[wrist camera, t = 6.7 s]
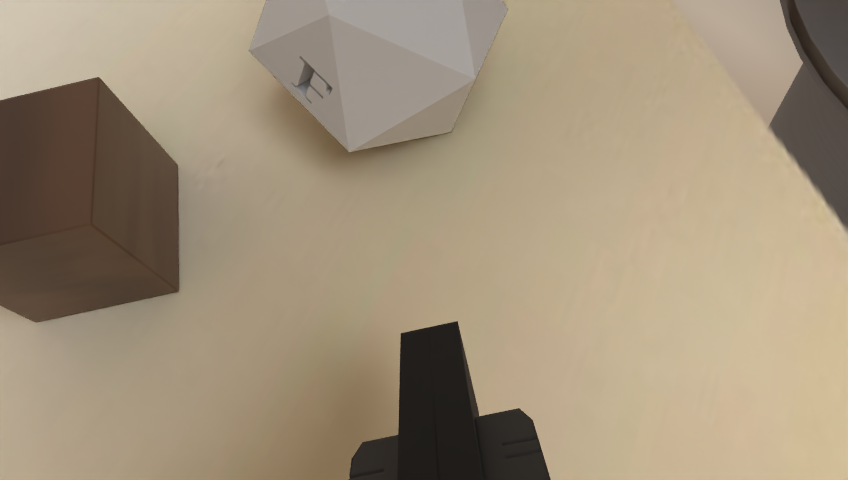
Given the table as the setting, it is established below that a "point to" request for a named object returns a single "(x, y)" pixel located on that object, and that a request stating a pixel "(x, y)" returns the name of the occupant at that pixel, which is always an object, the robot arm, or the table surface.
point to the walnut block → (82, 204)
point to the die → (378, 62)
